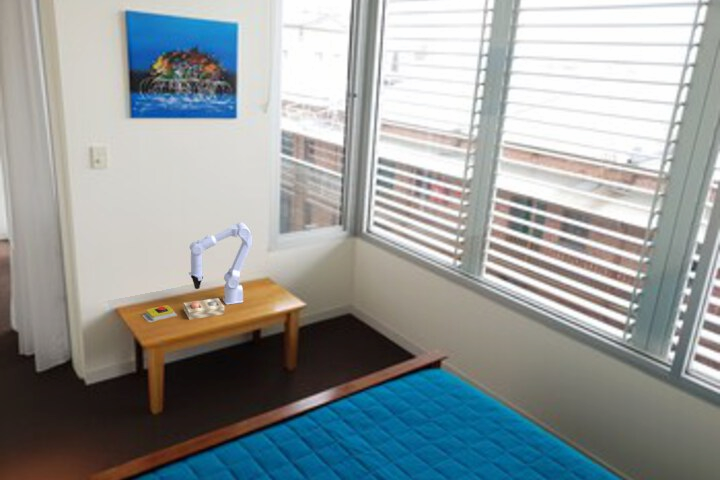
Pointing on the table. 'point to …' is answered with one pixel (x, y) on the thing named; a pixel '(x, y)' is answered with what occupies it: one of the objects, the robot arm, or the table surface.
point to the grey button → (212, 303)
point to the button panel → (204, 309)
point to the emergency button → (159, 313)
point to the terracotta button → (194, 305)
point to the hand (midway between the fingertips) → (197, 288)
